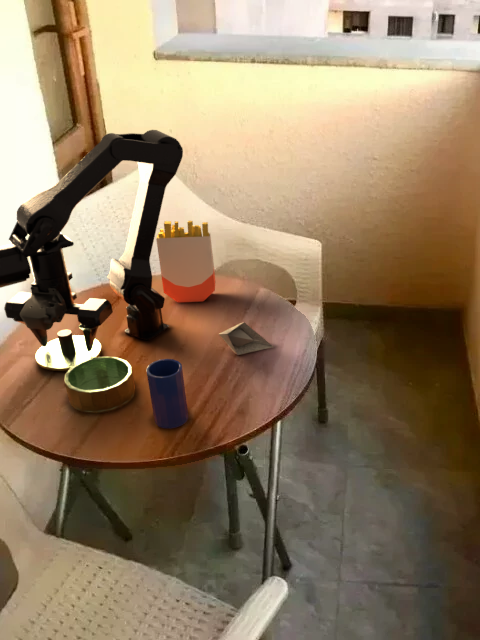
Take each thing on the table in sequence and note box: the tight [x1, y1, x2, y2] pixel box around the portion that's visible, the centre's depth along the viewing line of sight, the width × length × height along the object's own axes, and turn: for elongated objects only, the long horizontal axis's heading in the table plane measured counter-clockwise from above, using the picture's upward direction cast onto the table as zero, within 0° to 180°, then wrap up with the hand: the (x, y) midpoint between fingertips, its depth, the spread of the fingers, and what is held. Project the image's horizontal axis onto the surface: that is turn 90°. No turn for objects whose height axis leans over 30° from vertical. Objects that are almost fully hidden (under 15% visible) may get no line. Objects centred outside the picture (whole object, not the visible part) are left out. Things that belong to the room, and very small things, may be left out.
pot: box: [63, 355, 136, 415], centre depth 126 cm, size 11×11×4 cm
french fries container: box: [155, 220, 216, 303], centre depth 153 cm, size 5×11×18 cm, turn 95°
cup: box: [145, 358, 189, 429], centre depth 118 cm, size 6×6×10 cm
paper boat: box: [218, 321, 274, 356], centre depth 137 cm, size 12×6×9 cm
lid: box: [35, 329, 103, 372], centre depth 137 cm, size 12×12×5 cm
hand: (67, 348), depth 137 cm, fingers open, 9 cm apart
